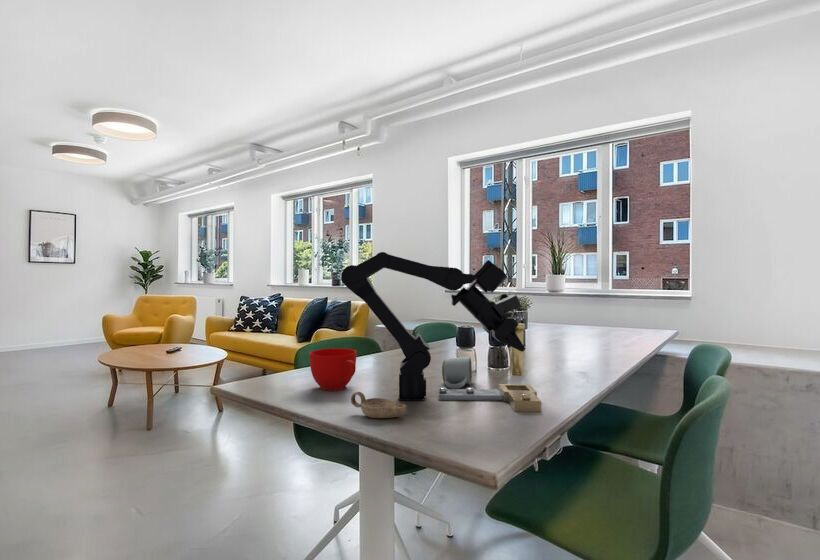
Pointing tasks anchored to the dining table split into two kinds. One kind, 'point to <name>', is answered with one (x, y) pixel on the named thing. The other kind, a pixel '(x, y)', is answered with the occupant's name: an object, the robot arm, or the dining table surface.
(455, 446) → the dining table surface
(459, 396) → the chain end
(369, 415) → the oil lamp
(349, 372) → the ceramic cup
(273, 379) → the dining table surface
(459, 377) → the ceramic mug
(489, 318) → the robot arm
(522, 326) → the pin
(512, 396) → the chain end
